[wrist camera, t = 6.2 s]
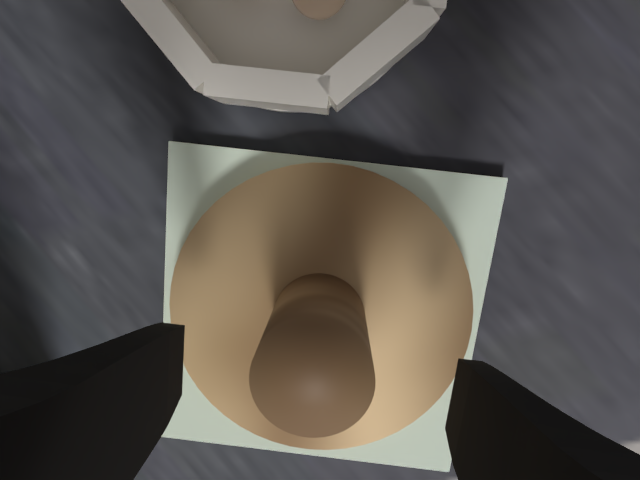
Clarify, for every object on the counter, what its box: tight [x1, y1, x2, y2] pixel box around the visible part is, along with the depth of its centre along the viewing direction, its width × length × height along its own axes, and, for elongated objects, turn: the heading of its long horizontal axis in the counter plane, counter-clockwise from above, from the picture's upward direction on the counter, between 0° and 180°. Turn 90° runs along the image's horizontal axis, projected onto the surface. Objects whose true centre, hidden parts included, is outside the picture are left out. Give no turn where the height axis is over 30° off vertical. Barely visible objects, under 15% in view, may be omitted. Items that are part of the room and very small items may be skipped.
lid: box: [169, 162, 473, 450], centre depth 12 cm, size 10×10×5 cm
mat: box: [161, 141, 508, 472], centre depth 15 cm, size 11×11×1 cm
